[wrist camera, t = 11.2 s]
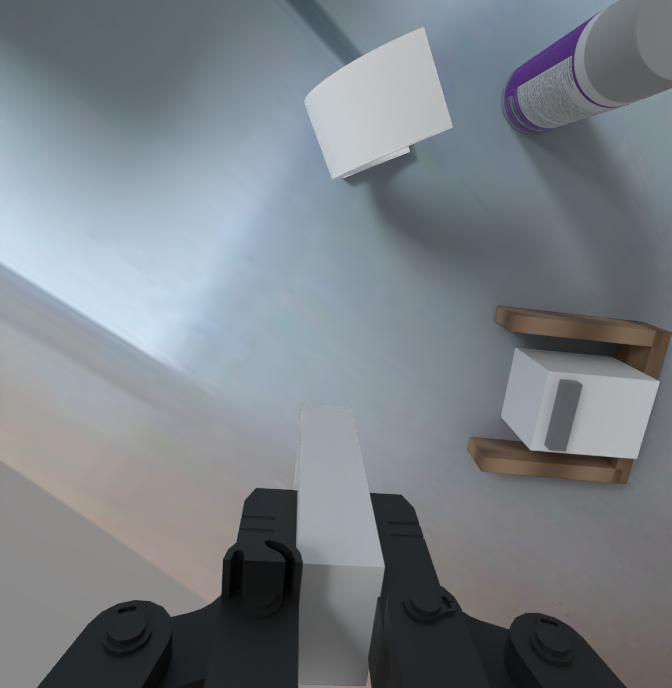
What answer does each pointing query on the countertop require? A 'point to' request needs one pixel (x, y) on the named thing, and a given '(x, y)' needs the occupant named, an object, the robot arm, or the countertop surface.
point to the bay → (635, 337)
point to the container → (594, 68)
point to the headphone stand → (378, 106)
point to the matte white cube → (578, 403)
